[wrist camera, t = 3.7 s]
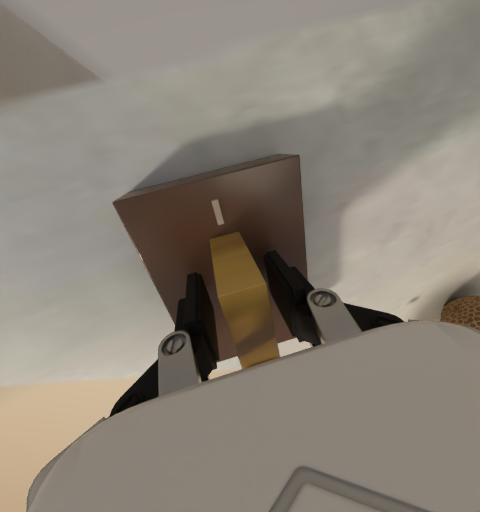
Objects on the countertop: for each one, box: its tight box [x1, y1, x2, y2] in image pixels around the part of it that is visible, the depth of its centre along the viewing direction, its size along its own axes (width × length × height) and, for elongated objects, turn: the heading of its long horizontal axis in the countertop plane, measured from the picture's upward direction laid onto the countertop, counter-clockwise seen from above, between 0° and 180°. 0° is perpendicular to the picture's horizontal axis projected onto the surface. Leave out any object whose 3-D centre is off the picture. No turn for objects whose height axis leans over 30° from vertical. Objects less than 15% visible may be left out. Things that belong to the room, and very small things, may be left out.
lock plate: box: [113, 154, 308, 363], centre depth 15 cm, size 14×10×3 cm
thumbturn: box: [210, 232, 280, 369], centre depth 11 cm, size 6×2×6 cm, turn 13°
